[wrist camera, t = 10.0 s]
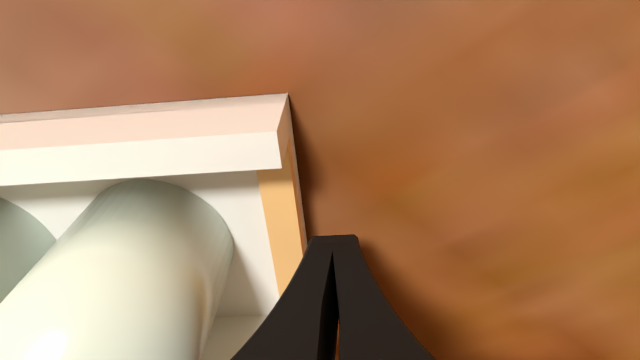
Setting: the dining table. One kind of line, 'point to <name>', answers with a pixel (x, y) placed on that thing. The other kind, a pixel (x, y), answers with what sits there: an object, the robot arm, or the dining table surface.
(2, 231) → the stocked jar
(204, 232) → the jar
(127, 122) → the tray
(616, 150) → the dining table surface
